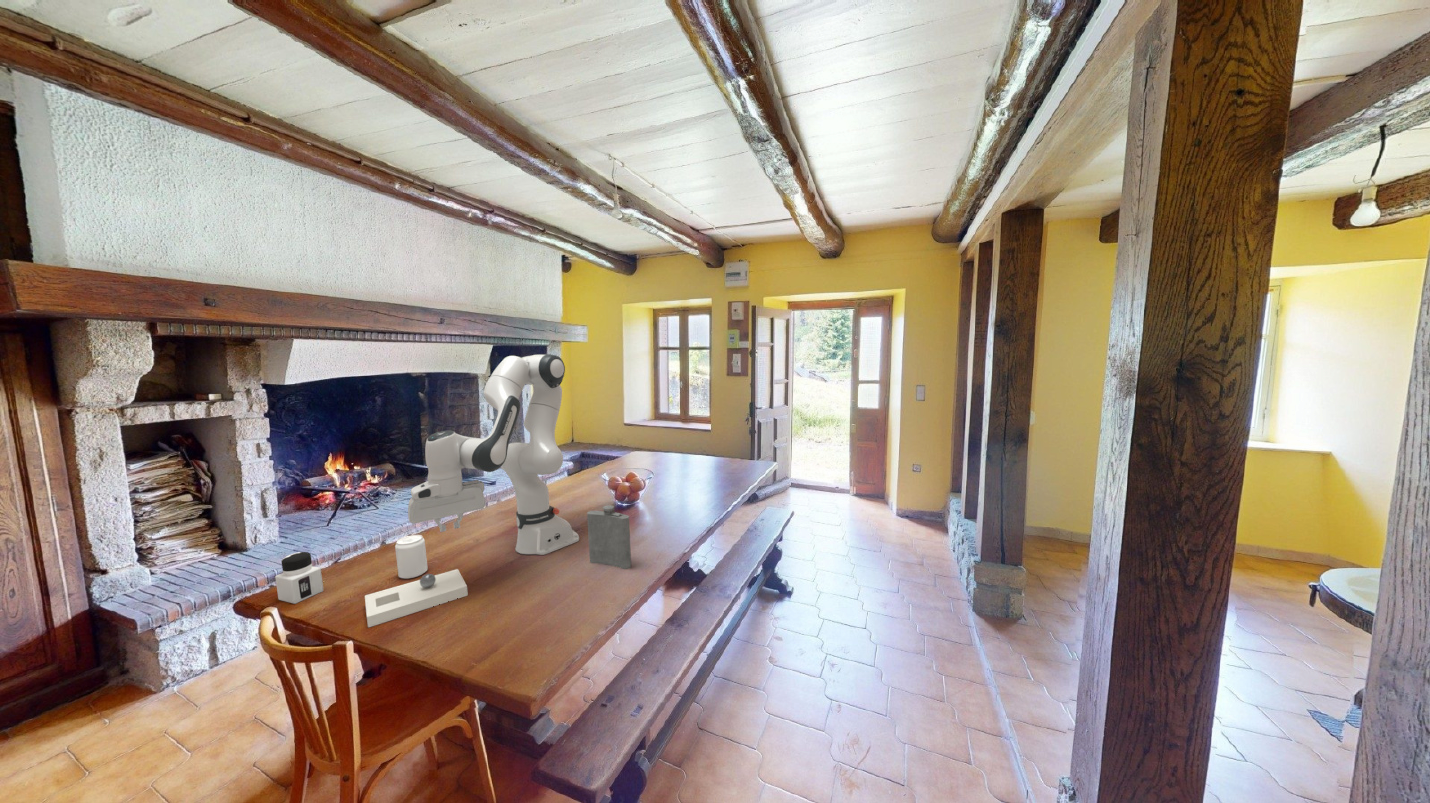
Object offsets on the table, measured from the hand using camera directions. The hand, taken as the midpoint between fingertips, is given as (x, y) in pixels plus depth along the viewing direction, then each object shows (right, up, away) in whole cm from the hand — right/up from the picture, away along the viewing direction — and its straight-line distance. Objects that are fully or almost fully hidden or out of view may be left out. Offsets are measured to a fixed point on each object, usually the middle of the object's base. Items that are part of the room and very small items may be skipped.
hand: (450, 529), depth 139 cm
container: (-45, -20, 0) cm, 50 cm away
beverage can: (-19, -18, +12) cm, 29 cm away
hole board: (-7, -20, -4) cm, 22 cm away
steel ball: (-5, -15, -3) cm, 16 cm away
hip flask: (+45, -17, +17) cm, 51 cm away
